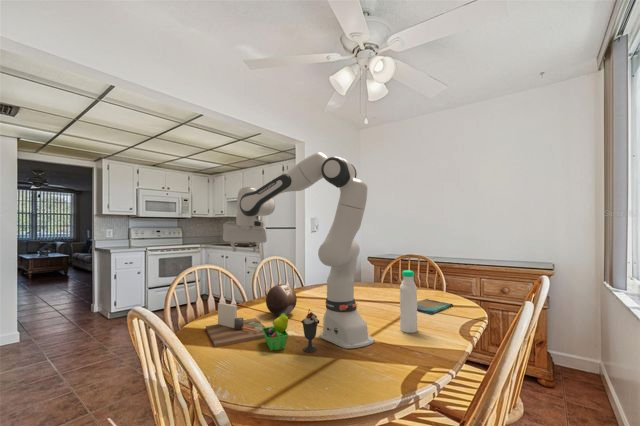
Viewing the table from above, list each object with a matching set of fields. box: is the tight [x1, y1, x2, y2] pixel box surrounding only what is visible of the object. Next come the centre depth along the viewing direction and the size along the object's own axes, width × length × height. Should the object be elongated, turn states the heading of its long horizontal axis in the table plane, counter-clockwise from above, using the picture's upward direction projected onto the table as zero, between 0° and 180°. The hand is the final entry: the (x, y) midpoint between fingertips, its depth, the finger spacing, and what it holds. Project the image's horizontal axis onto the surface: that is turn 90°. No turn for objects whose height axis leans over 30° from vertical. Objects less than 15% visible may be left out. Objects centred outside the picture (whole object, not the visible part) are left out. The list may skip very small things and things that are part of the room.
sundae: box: [300, 308, 320, 353], centre depth 110 cm, size 7×7×15 cm
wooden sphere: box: [265, 283, 297, 317], centre depth 151 cm, size 15×15×15 cm
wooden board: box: [205, 318, 266, 348], centre depth 127 cm, size 22×22×1 cm
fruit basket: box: [263, 313, 289, 351], centre depth 115 cm, size 11×9×11 cm
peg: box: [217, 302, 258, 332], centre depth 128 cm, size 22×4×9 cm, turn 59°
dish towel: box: [417, 298, 454, 316], centre depth 164 cm, size 17×23×2 cm
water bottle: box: [399, 269, 419, 334], centre depth 129 cm, size 7×7×25 cm
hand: (244, 251), depth 143 cm, fingers open, 8 cm apart
